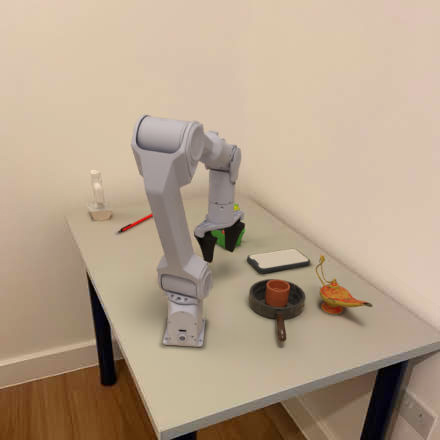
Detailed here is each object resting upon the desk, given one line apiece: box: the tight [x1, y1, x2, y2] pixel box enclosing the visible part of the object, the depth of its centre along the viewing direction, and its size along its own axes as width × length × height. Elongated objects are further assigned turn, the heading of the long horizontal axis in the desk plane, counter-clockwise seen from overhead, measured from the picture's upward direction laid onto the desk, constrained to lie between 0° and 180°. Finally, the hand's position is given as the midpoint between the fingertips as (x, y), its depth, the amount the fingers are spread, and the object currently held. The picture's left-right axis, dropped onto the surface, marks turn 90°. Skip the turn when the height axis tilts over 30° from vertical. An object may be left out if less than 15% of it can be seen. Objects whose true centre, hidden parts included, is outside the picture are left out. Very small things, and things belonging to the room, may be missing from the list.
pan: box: [248, 278, 306, 320], centre depth 103 cm, size 13×13×3 cm
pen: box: [117, 213, 153, 233], centre depth 140 cm, size 1×19×1 cm, turn 150°
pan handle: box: [275, 310, 287, 343], centre depth 93 cm, size 11×2×2 cm, turn 178°
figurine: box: [86, 168, 114, 221], centre depth 139 cm, size 7×9×15 cm
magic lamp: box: [315, 254, 374, 315], centre depth 99 cm, size 7×18×11 cm, turn 30°
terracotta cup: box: [265, 278, 290, 307], centre depth 102 cm, size 5×5×5 cm
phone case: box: [246, 248, 311, 274], centre depth 121 cm, size 9×2×16 cm
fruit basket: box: [211, 202, 246, 249], centre depth 129 cm, size 11×9×11 cm
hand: (218, 255), depth 103 cm, fingers open, 7 cm apart
